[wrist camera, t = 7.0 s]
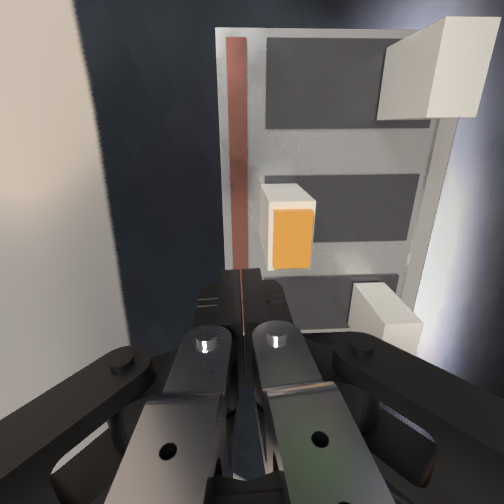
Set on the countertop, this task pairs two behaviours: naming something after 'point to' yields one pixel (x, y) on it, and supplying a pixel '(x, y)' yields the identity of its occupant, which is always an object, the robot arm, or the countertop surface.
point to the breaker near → (438, 70)
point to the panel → (326, 163)
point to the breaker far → (384, 316)
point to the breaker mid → (287, 226)
